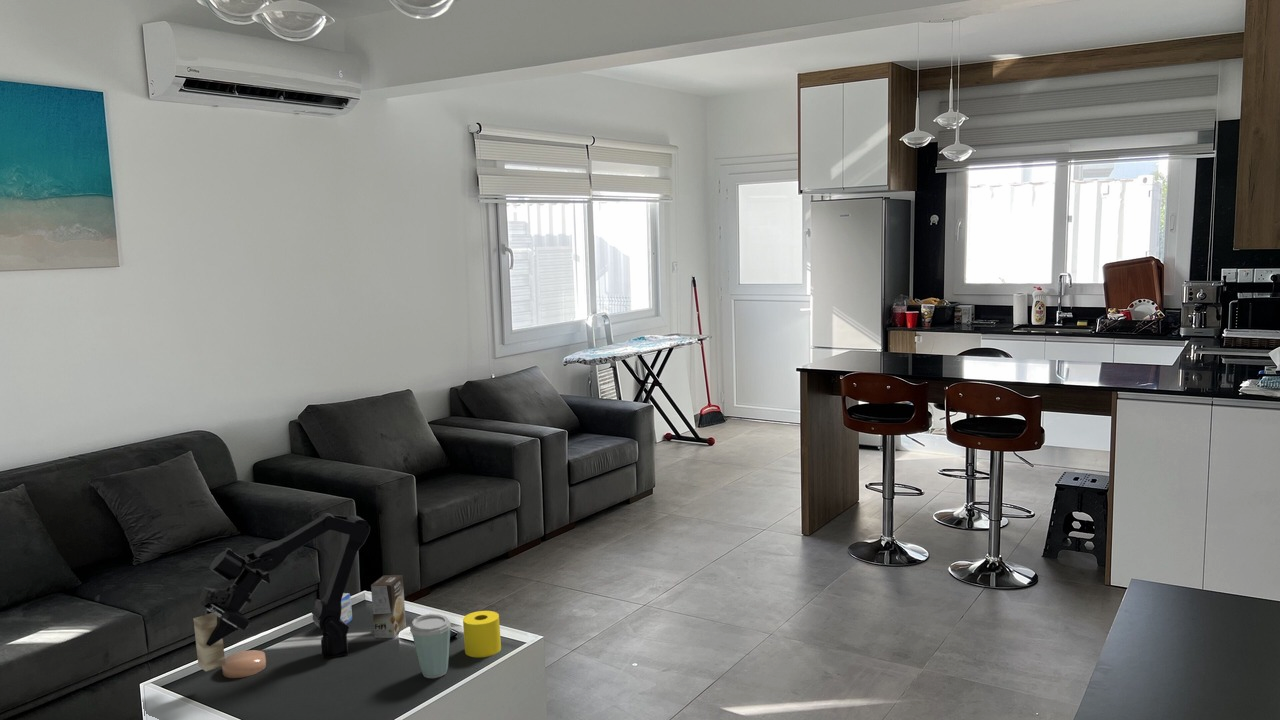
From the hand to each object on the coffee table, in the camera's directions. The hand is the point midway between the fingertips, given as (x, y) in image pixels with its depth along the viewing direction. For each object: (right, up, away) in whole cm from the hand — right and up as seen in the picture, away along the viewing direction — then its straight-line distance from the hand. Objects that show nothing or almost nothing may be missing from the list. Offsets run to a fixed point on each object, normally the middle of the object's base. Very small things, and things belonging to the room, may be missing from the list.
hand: (203, 642), depth 245 cm
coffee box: (+39, -8, +36) cm, 54 cm away
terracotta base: (+5, -12, +15) cm, 19 cm away
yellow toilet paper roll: (+69, -8, +20) cm, 72 cm away
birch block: (+1, -7, +2) cm, 7 cm away
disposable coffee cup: (+58, -10, +6) cm, 60 cm away
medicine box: (+21, -8, +44) cm, 49 cm away
